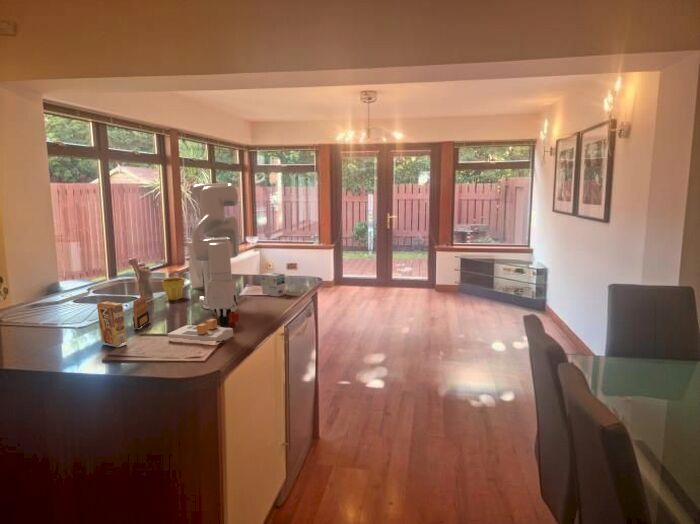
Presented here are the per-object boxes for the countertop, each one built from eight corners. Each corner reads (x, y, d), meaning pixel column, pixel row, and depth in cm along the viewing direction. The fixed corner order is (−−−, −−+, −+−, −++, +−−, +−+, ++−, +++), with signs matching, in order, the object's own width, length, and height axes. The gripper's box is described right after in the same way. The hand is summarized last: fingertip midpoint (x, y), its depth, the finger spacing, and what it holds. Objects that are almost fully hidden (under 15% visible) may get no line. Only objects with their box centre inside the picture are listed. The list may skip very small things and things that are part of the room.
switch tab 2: (207, 328, 175) (206, 321, 174) (211, 326, 178) (211, 318, 177) (212, 329, 174) (212, 321, 174) (217, 326, 177) (216, 319, 177)
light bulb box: (286, 294, 243) (285, 273, 241) (277, 297, 238) (276, 275, 236) (270, 292, 249) (269, 271, 247) (261, 295, 243) (260, 274, 241)
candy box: (127, 345, 170) (123, 303, 168) (117, 348, 167) (112, 306, 164) (111, 341, 175) (107, 300, 172) (101, 345, 171) (96, 303, 168)
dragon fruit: (218, 336, 183) (233, 331, 194) (235, 323, 181) (248, 319, 193) (206, 317, 184) (221, 313, 195) (222, 305, 182) (237, 301, 194)
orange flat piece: (138, 330, 188) (135, 300, 186) (134, 330, 188) (130, 300, 186) (149, 322, 199) (147, 294, 197) (145, 322, 199) (142, 294, 197)
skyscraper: (190, 289, 261) (186, 238, 256) (189, 287, 268) (184, 237, 264) (206, 288, 264) (202, 237, 260) (204, 285, 271) (200, 236, 267)
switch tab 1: (197, 333, 169) (196, 325, 169) (202, 331, 172) (201, 323, 172) (203, 334, 169) (202, 326, 168) (208, 331, 171) (207, 323, 171)
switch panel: (168, 341, 172) (167, 333, 172) (187, 332, 183) (186, 324, 182) (216, 345, 166) (215, 337, 166) (233, 336, 177) (232, 327, 176)
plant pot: (181, 300, 236) (179, 281, 235) (160, 301, 236) (158, 281, 235) (188, 295, 246) (186, 277, 245) (168, 296, 247) (166, 277, 245)
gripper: (196, 278, 170) (200, 328, 173) (233, 279, 166) (237, 330, 168) (208, 274, 177) (212, 322, 180) (244, 275, 173) (248, 324, 176)
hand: (224, 326), depth 174 cm, fingers closed
